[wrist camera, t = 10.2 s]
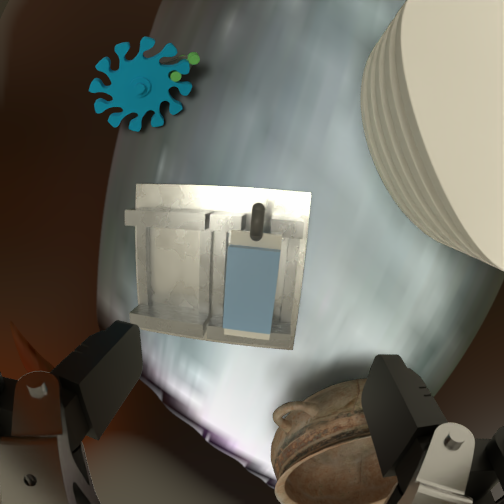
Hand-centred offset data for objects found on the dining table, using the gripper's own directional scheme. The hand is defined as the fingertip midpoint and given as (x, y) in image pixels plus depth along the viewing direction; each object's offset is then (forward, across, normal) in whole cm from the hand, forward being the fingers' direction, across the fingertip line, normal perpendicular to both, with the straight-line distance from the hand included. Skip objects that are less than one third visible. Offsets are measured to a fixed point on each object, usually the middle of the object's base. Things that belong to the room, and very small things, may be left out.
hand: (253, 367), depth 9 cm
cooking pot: (+20, -13, +20) cm, 31 cm away
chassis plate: (+20, +5, +3) cm, 21 cm away
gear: (+21, +13, -15) cm, 28 cm away
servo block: (+19, +1, +2) cm, 19 cm away
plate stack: (+20, -22, -16) cm, 34 cm away
